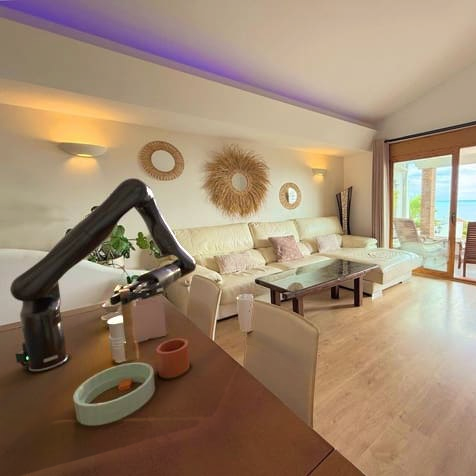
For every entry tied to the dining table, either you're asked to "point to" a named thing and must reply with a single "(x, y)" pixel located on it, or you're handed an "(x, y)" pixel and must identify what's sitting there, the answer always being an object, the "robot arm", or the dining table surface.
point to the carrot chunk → (125, 384)
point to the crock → (172, 358)
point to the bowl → (117, 407)
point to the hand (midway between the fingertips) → (117, 301)
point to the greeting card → (148, 320)
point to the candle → (117, 338)
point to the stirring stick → (129, 330)
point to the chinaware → (114, 310)
